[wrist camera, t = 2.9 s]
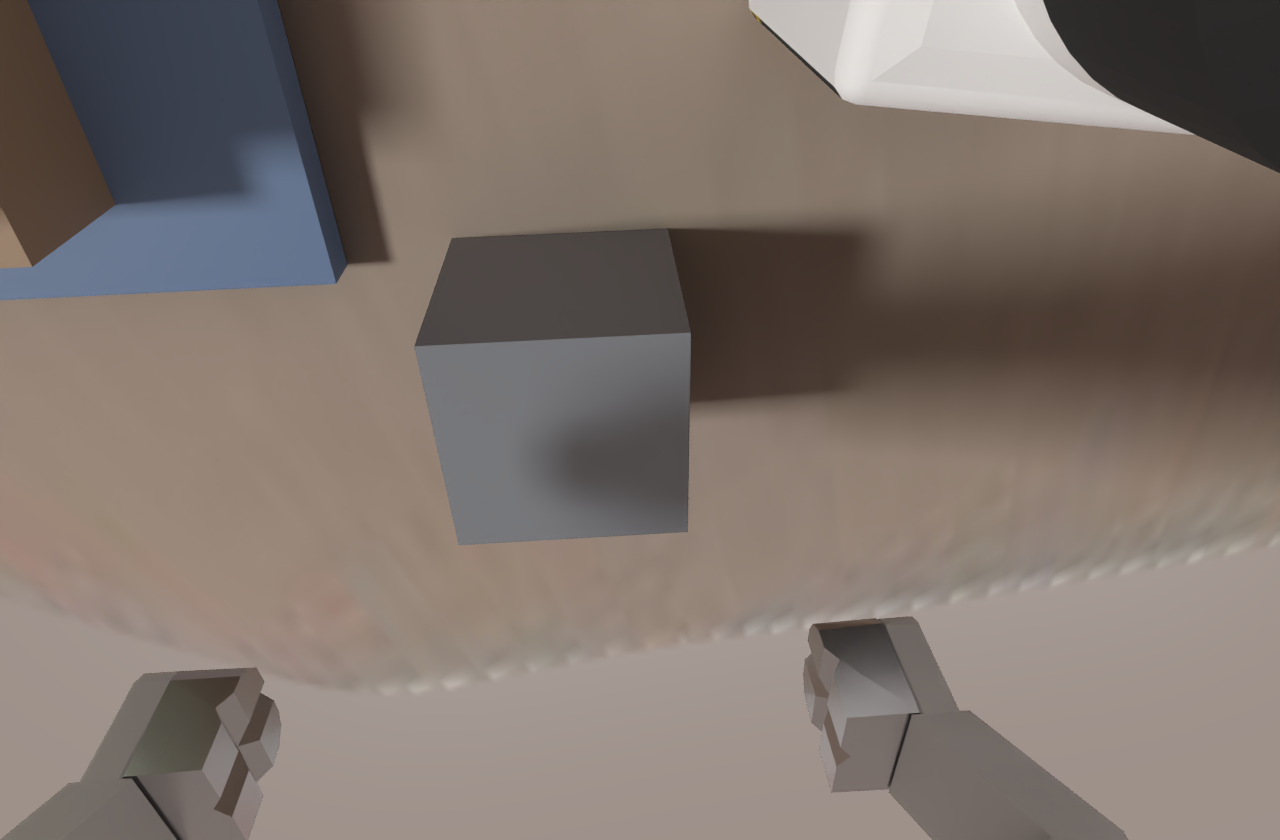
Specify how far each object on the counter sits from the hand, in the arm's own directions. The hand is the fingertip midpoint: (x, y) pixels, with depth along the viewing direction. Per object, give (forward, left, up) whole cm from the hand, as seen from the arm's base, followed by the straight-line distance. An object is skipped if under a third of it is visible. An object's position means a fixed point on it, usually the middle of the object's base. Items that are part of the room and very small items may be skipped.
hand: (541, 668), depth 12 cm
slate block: (0, 0, -10) cm, 10 cm away
